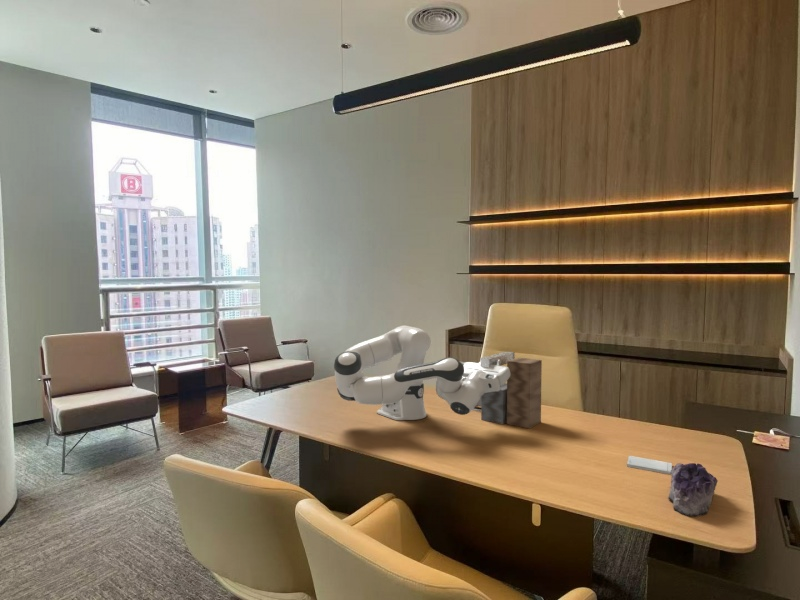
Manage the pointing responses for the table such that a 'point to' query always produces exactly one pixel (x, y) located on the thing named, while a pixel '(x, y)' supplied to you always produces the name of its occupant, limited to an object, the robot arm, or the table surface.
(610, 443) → the table surface
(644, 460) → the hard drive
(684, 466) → the geode
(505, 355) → the grey rectangular bar
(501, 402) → the two-tier stand
